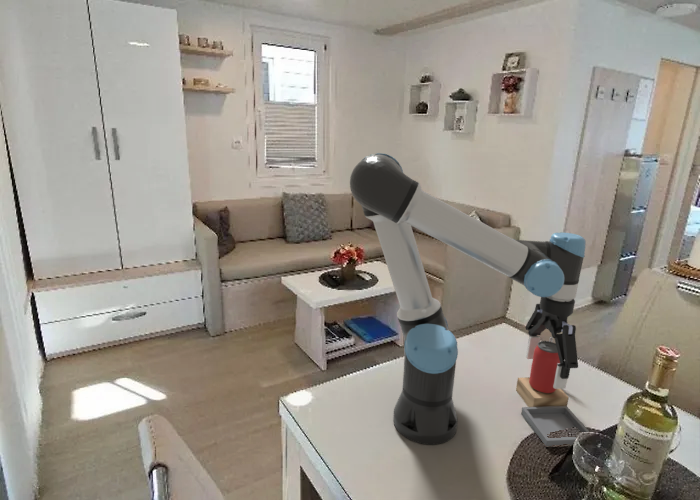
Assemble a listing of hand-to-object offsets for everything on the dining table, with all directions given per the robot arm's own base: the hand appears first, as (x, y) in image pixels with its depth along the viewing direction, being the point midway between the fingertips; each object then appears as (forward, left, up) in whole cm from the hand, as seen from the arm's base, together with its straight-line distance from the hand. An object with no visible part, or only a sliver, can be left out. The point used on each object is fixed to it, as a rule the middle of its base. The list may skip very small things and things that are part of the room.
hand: (544, 372), depth 108 cm
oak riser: (0, 0, -8) cm, 8 cm away
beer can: (0, 0, -5) cm, 5 cm away
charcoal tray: (-2, -11, -8) cm, 14 cm away
